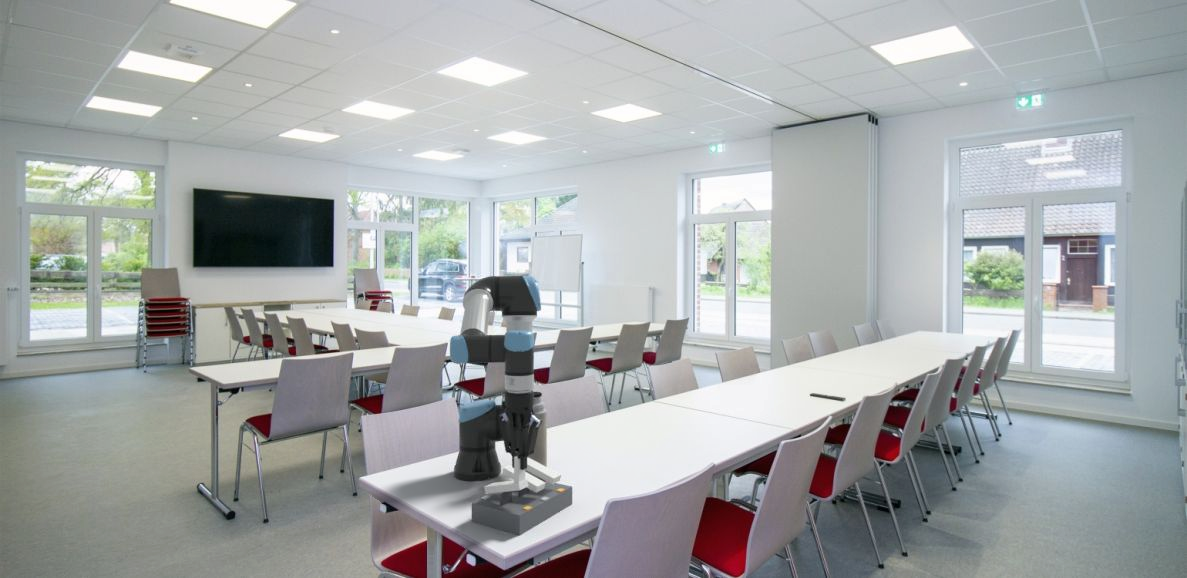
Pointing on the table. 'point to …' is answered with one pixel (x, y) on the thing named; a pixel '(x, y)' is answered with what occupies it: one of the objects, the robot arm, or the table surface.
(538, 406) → the thermos bottle
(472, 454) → the robot arm
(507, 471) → the rocker
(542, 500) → the console
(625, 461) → the table surface
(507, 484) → the rocker
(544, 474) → the rocker
